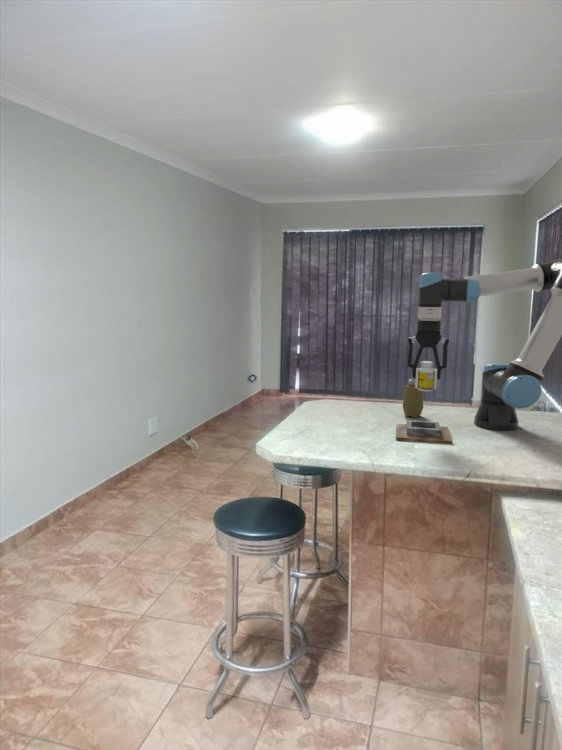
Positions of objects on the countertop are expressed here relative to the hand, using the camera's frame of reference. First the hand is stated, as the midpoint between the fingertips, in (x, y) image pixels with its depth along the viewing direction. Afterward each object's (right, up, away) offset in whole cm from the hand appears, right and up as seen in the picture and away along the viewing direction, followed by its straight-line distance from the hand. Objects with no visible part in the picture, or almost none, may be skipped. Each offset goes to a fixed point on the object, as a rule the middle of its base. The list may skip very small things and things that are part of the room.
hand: (425, 387), depth 182 cm
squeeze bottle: (+3, -12, +30) cm, 32 cm away
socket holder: (0, -16, +3) cm, 17 cm away
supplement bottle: (0, -1, 0) cm, 1 cm away
